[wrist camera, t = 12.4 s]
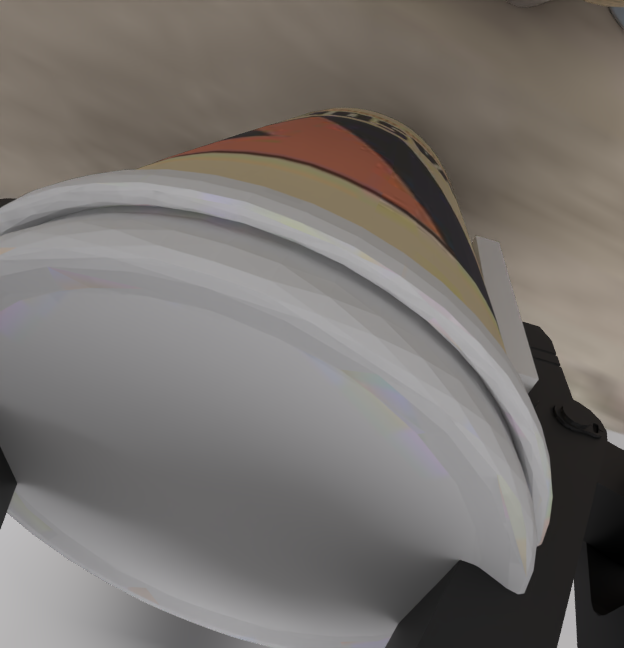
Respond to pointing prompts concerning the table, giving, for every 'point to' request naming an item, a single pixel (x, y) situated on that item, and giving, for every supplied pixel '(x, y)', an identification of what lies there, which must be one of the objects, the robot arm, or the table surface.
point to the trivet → (618, 15)
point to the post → (526, 2)
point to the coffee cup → (267, 384)
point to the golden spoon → (607, 2)
